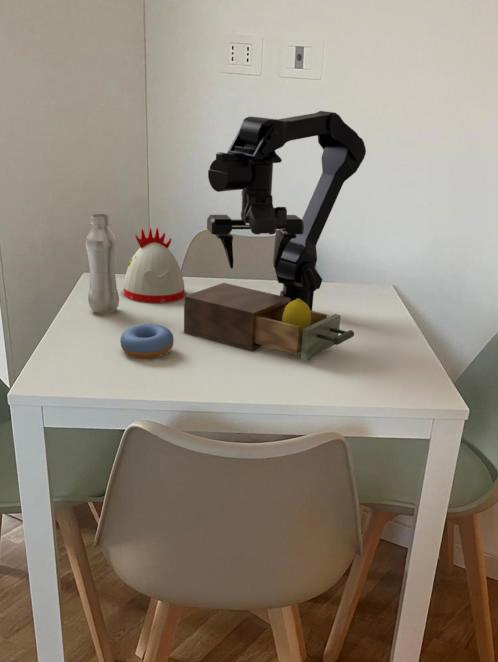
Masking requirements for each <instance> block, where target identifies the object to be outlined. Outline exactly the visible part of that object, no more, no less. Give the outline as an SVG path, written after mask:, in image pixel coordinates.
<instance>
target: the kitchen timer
mask: <svg viewBox="0 0 498 662" xmlns="http://www.w3.org/2000/svg"><path fill="white" fill-rule="evenodd" d="M144 231H145V230H144V229H143V228H141V229H140V238H139V237H138V235H137V234H136V233H134V236H135V239H136V241H137V244H138V246H139V248H138V249H137V250H136V252H135V253H134V254H133V256H132V257H131V259H130V261H129V262H128V263H127V265H128V266H127V270H126V273H125V277H124V280H123V281H124V282H123V294H124V297H126V298H127V299H129V300H132V301H135V302H140V303H149V304H162V303H163V304H164V303H171V302H172V303H173V302H176V301H179V300H182V299H184V296H185V293H186V292H185V291H186V290H185V289H186V288H185V280H184V276H183V273H182V271H181V267H180V264H179V262H178V260H177V259H176V256H174V254H173V252H172V251H171V250H170V249H169V247H170V245H171V243H172V237H170V238H169V239H168V240H167V242H165V238H166V233H165V232H163V233H162V234H161V236H160V232H159V228H158V227H156V228H155V233H154V236H153V230H152V227H149V230H148V235H147V237H146V234H145V232H144Z"/></svg>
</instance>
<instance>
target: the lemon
mask: <svg viewBox="0 0 498 662" xmlns="http://www.w3.org/2000/svg"><path fill="white" fill-rule="evenodd" d="M282 322H285V323H289V324H293V325H297V326H301V332H300V336H302V335H303V329H304V328H306V327H308V326H310V324H311V311H310V308H309V306H308V305H307V304H306V303H305V302H303V301H301V300H300V299H296V300H294V301H291V302H290V303H289V304H288V305H287V306H286V308H285V310H284V313H283V318H282Z"/></svg>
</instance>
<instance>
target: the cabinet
mask: <svg viewBox="0 0 498 662" xmlns="http://www.w3.org/2000/svg"><path fill="white" fill-rule="evenodd" d="M290 302H291V298H288V297H284V296H280V294H274V293H270V292H265V291H262V290H257V289H252V288H248V287H244V286H240V285H236V284H231V283H227V282H222V283H219V284H216V285H214V286H209V287H206V288H204V289H201V290H198V291H196V292H192V293H188V294H186V295H184V297H183V304H184V305H183V333H184V334H187V335H190V336H195V337H197V338H201V339H205V340H208V341H213V342H216V343H220V344H224V345H227V346H231V347H234V348H238V349H242V350H245V351H250V352H253V351H256V350H257V349H260V348H262V347H264V346H263V345H259V344H256V343H254V338H255V319H256V316H257V315H260V314H262V313H265V312H267V311H269V310H272V309H274V308H277V307H279V306H282V305H284V304H286V305H288V304H289V303H290Z"/></svg>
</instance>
